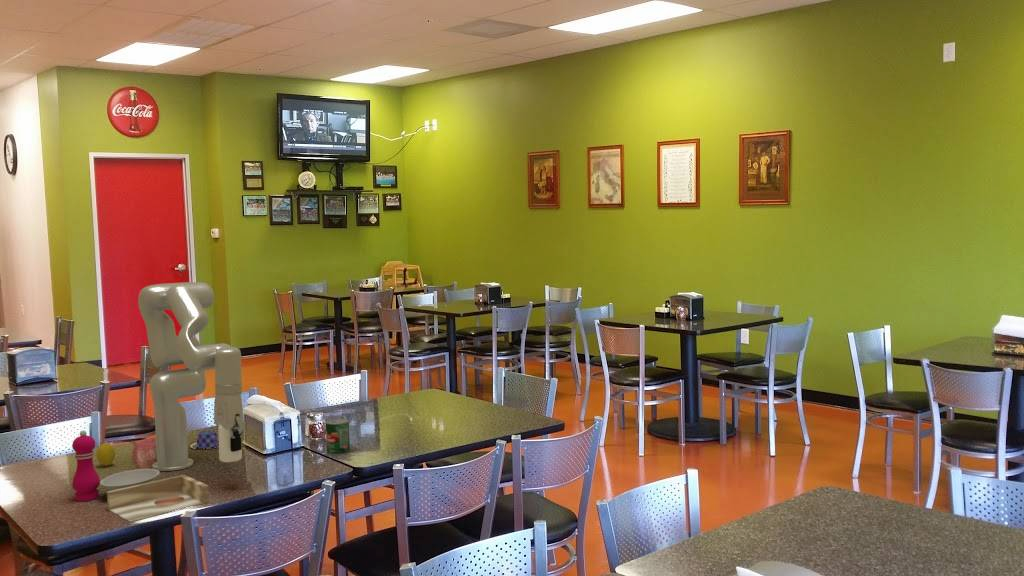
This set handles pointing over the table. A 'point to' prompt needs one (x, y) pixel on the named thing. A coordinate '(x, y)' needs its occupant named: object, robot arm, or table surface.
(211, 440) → the blue patterned low dome
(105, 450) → the lemon
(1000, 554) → the table surface
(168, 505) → the gold shallow open box
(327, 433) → the canned tomato
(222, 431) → the can
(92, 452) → the pepper mill
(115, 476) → the dish
